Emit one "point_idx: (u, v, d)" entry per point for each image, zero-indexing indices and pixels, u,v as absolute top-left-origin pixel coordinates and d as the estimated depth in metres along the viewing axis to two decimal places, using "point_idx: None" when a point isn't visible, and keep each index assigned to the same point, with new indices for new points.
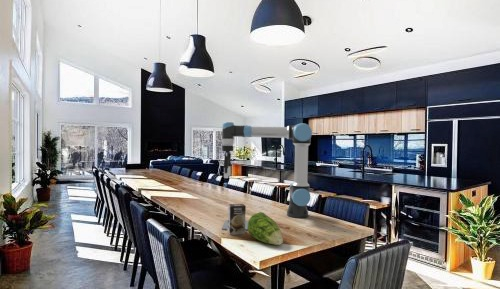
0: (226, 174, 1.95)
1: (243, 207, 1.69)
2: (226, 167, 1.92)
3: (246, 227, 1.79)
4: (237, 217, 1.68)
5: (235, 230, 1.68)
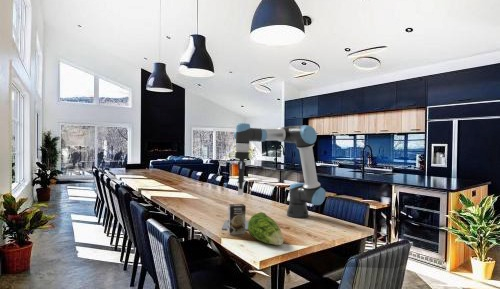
0: (241, 190, 1.64)
1: (243, 207, 1.69)
2: (241, 182, 1.61)
3: (246, 227, 1.79)
4: (237, 217, 1.68)
5: (235, 230, 1.68)
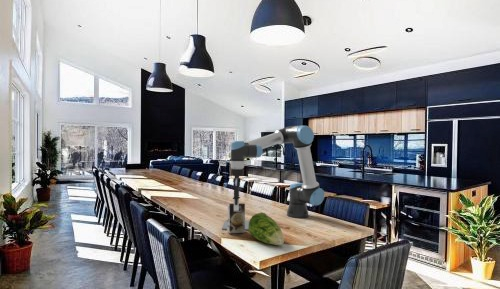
0: (236, 206, 1.68)
1: (242, 205, 1.71)
2: (236, 198, 1.65)
3: (246, 227, 1.79)
4: (236, 215, 1.69)
5: (235, 228, 1.68)
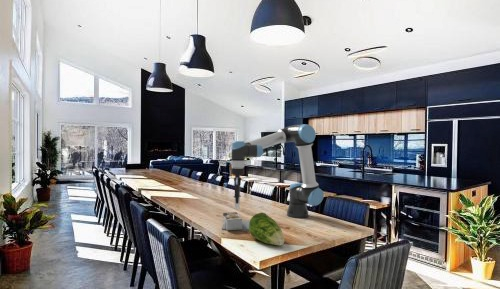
0: (237, 204, 1.73)
1: (235, 212, 1.89)
2: (237, 197, 1.70)
3: (246, 227, 1.79)
4: (231, 214, 1.83)
5: (231, 218, 1.76)
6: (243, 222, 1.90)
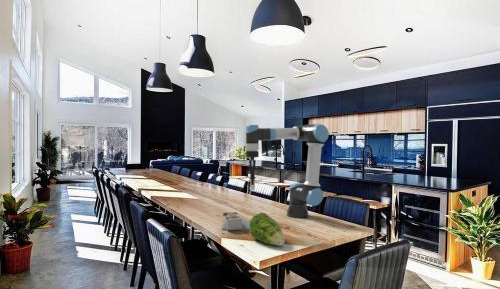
0: (253, 186, 1.80)
1: (235, 212, 1.89)
2: (253, 178, 1.77)
3: (246, 227, 1.79)
4: (231, 214, 1.83)
5: (231, 218, 1.76)
6: (243, 222, 1.90)
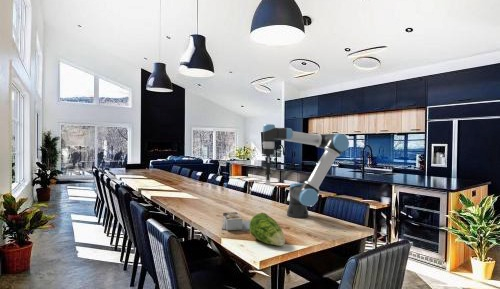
0: (268, 181, 1.93)
1: (235, 212, 1.89)
2: (268, 174, 1.91)
3: (246, 227, 1.79)
4: (231, 214, 1.83)
5: (231, 218, 1.76)
6: (243, 222, 1.90)
